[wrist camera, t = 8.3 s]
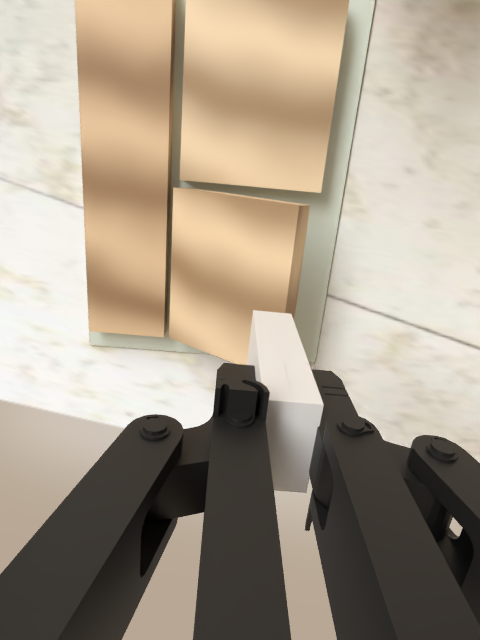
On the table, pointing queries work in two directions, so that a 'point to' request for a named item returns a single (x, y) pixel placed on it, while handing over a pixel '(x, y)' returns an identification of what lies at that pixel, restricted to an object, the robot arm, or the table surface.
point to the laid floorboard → (126, 159)
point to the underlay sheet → (321, 204)
